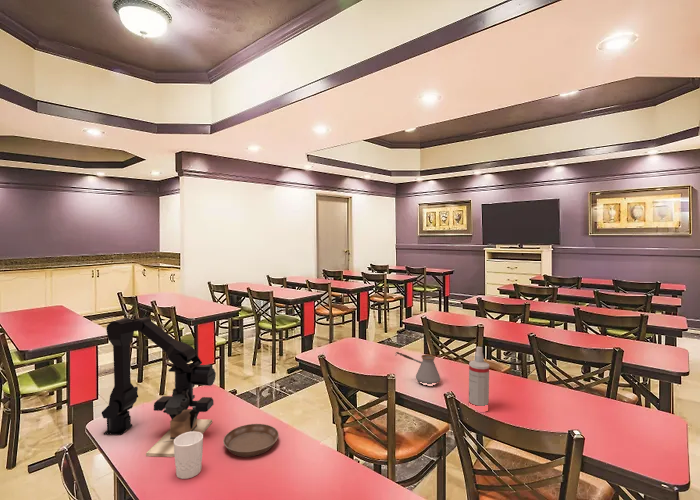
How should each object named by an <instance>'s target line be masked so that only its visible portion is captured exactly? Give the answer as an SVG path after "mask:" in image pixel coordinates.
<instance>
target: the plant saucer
mask: <svg viewBox="0 0 700 500" xmlns="http://www.w3.org/2000/svg"><path fill="white" fill-rule="evenodd" d="M279 436H280V435H279V431H278V430H277V428H275V427H274V426H272V425H270V424H269V425H268V424H264V423H251V424H245V425H239V426H238V427H236V428H235V427H234V428H233V429H232V430H230V431H229V432H227V434H225V435H224V438H223V445H224V447H225V448H226V449H227V451H229V452H230V453H232V454H233V455H235V456H238V457H244V458H245V457H246V458H249V457H255V456H259V455H262V454H264V453H266V452H267V451H269V450H270V449H271V448H272V447H273V446H274V444H276V442H277V440H278V439H279Z"/></svg>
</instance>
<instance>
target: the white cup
mask: <svg viewBox="0 0 700 500" xmlns="http://www.w3.org/2000/svg"><path fill="white" fill-rule="evenodd" d="M203 446H204V433H203V434H202V433H200V432H187V433H183V434H181V435H179V436H177V437H176V438H175V439H174V455H175V457H174V465H175V474H176V477H177V478H179V479H182V480H184V479H185V480H188V479H191V478H192V479H193V478H194V477H196V476H198V474H200V473H201V471H202V464H203V463H202V461H203V448H204V447H203Z"/></svg>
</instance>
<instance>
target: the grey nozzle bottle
mask: <svg viewBox="0 0 700 500" xmlns="http://www.w3.org/2000/svg"><path fill="white" fill-rule="evenodd" d="M475 351H476V352H475V355H474V360H470V361H469V363H468V404H469V403H470V404H472V405H475V406H485V405H488V403H490V395H489V394H490V364H489V363H488V362H487V361H484V360H485V359H484V353H483V347H482V346H476V350H475Z"/></svg>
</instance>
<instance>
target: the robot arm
mask: <svg viewBox="0 0 700 500" xmlns="http://www.w3.org/2000/svg"><path fill="white" fill-rule="evenodd" d="M135 332H139V333H141V334H142V335H144V336H145V337H146V338H147V339H148V340H150V341H151V342H153V343H154V344H155V345H156V346H158V348H160V349H161V350H163V352H165V354H166V357H167V359H168V360H169V362H171V363H172V364H173V365H172V366H171V367H170V368H169V369H168V372H171V373H172V372H173V373H174V388H173V389H172V395H171V396H170V395H169V396H168V395H162V396H161V397H159V399H157V400H156V401H155V402H154V404H153V411H155V412H156V411H157V412H160V411H161V412H162V413H164V414H166V415H169V417H170V418H171V420H172V419H173V418H174V417H175V416H176V415H179V414H181V413H182V411H183V410H187V409H189V408H191V409H192V410H191V411H190V412H189V413H190V415H191V421H190V427H191V429H192V428H193V426H194V424H195V421H196V419H198V415H199V414H200V413H207V412H208V411H209V410H210V409H211V408H212V407H213V406H214V405H215V403H214V399H213V397H212V396H211V397H209V396H202V397H200V399H199V400H194V399H195V398H196V395H195V394H194V388H195V386H208V387H209V386H210V387H211V386H212V385H213V384H214V383H215V381H216V375H217V372H216V371H215V369H214V368H213V364H203V361H202V360H201V358H200V357H199V356H198V354H197V353H196V350H195V348H194V347H193V346H192V345H190V344H188V343H186V342H184V341H179V340H177V339H175V338H174V337H173V336H171V335H170V334H168V333H167V332H166V331H164V329H162V328H161V327H159V326H158V325H157V323H156V324H155V322H153V321H152V319H151V318H150V317H146V316H145V317H143V318H140V317H139V318H133V319H131V318H130V317H123V318H120V319H117V320H116V319H115V320H112V321H110V322H109V323H108V324H107V326H106V334H107V335H106V336H107V340H108V341H109V342H110V345H112V348H113V349H112V351H113V352H112V353H113V355H112V356H113V384H114V386H113V388H112V391H111V392H110V395H109V400H108V405H107V406H106V407H105V408H104V409H103V410H102V411H101V416H102V419H106V430H105V431H104V432H103V435H118V436H120V435H123V434H124V433H125V432H127V430H129V429H130V428H131V427H133V423H131V421H132V419H131V414H130V410H131V409H133V407H134V404H135V403H136V402H137V399H138V398H139V395H138V394H139V393H138V390H139V388H138V386H134V385H133V383H132V382H131V381H132V380H131V355H130V354H131V352H130V351H131V350H130V349H131V348H130V343H131V341H132V338H133V337H134V335H135ZM189 363H190V364H189Z"/></svg>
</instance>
